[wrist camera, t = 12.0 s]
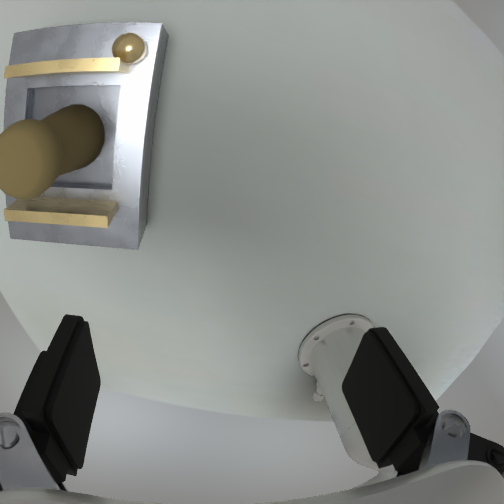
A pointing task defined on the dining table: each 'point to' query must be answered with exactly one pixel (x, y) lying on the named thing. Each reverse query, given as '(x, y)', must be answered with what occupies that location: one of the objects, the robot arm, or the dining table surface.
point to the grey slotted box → (114, 120)
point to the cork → (48, 149)
